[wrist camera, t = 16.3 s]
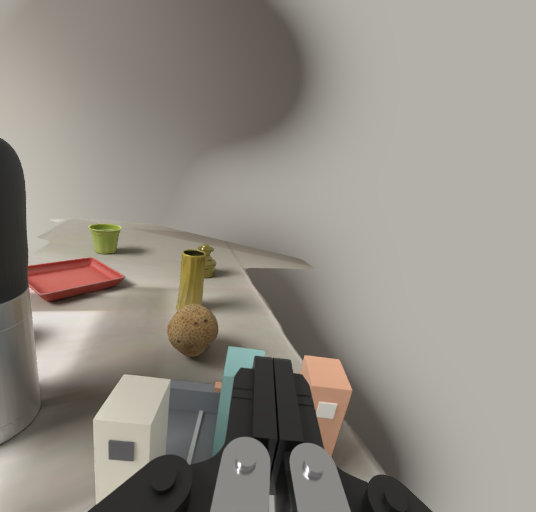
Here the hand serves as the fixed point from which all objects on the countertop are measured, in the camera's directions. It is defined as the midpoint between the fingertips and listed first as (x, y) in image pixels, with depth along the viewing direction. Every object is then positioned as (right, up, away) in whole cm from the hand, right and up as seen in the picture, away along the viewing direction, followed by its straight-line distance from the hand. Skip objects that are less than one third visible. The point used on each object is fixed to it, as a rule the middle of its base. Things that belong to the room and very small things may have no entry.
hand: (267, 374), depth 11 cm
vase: (-19, -8, +54) cm, 58 cm away
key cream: (-14, -19, +16) cm, 28 cm away
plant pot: (-56, +6, +81) cm, 98 cm away
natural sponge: (-15, -13, +39) cm, 44 cm away
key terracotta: (+5, -20, +23) cm, 31 cm away
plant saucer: (-50, -2, +57) cm, 75 cm away
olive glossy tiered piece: (-21, -1, +76) cm, 79 cm away
